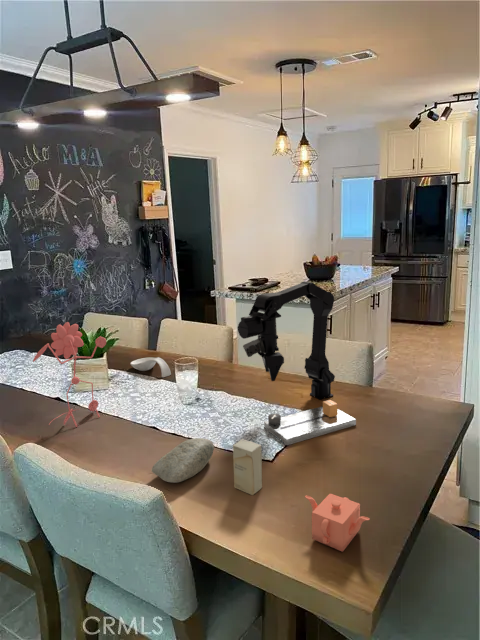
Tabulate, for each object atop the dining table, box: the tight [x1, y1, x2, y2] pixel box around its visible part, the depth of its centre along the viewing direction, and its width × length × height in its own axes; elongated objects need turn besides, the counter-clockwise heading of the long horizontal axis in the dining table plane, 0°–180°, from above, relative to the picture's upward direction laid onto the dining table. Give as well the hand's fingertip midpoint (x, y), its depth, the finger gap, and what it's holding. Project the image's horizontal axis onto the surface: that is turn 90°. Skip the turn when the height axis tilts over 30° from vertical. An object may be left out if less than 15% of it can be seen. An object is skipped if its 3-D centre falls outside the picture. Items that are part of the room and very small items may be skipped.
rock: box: [151, 437, 215, 484], centre depth 132 cm, size 8×11×20 cm
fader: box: [322, 399, 339, 417], centre depth 158 cm, size 3×4×4 cm
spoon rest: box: [130, 356, 172, 378], centre depth 216 cm, size 24×12×7 cm, turn 45°
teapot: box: [304, 493, 370, 552], centre depth 103 cm, size 12×15×8 cm
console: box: [263, 405, 357, 446], centre depth 155 cm, size 26×14×2 cm, turn 116°
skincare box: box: [232, 438, 263, 496], centre depth 122 cm, size 6×4×12 cm
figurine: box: [32, 321, 115, 428], centre depth 167 cm, size 15×26×35 cm, turn 141°
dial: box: [267, 413, 282, 425], centre depth 154 cm, size 4×4×2 cm
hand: (270, 376), depth 163 cm, fingers open, 9 cm apart
